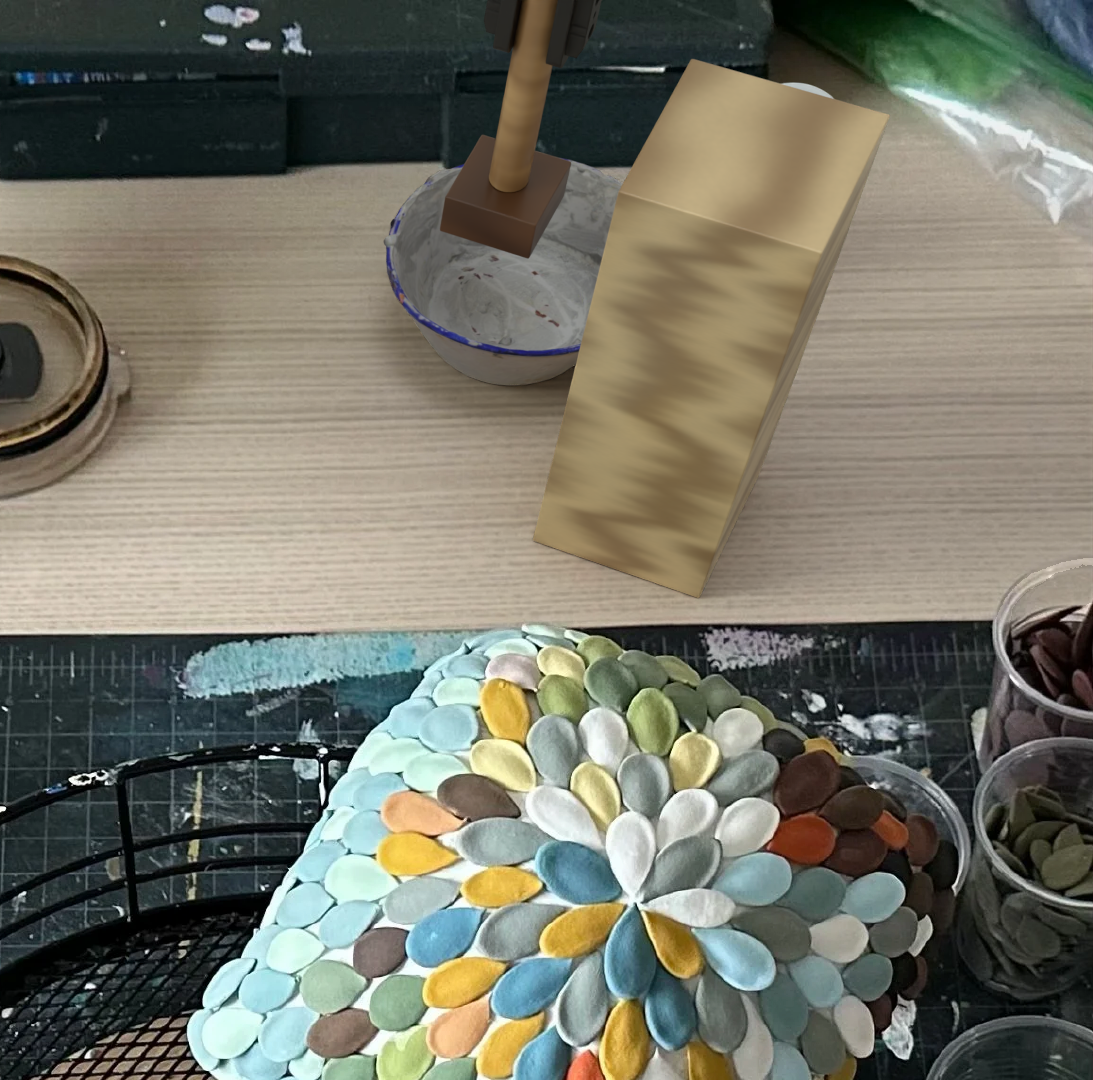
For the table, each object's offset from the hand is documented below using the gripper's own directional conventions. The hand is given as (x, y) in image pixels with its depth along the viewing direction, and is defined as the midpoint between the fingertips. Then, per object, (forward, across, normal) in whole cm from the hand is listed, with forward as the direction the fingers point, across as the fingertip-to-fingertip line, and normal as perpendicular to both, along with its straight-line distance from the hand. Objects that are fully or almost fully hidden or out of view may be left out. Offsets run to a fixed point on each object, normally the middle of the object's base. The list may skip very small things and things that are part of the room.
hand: (534, 45), depth 98 cm
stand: (+15, -11, +8) cm, 21 cm away
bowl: (+16, -1, 0) cm, 16 cm away
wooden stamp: (+9, 0, 0) cm, 9 cm away
